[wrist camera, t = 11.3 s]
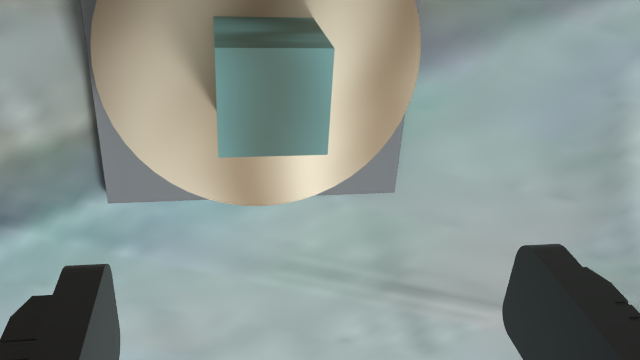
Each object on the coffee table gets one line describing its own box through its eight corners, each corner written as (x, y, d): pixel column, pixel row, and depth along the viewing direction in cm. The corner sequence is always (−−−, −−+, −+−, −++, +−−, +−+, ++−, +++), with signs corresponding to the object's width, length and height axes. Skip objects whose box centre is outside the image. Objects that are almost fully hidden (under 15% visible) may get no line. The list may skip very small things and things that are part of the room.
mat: (430, -115, 23) (435, -114, 23) (391, 186, 30) (394, 192, 30) (64, -136, 21) (61, -136, 20) (109, 196, 28) (108, 203, 27)
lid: (432, -110, 23) (494, -102, 18) (394, 188, 29) (431, 253, 25) (72, -130, 21) (29, -128, 16) (115, 198, 27) (95, 273, 22)
